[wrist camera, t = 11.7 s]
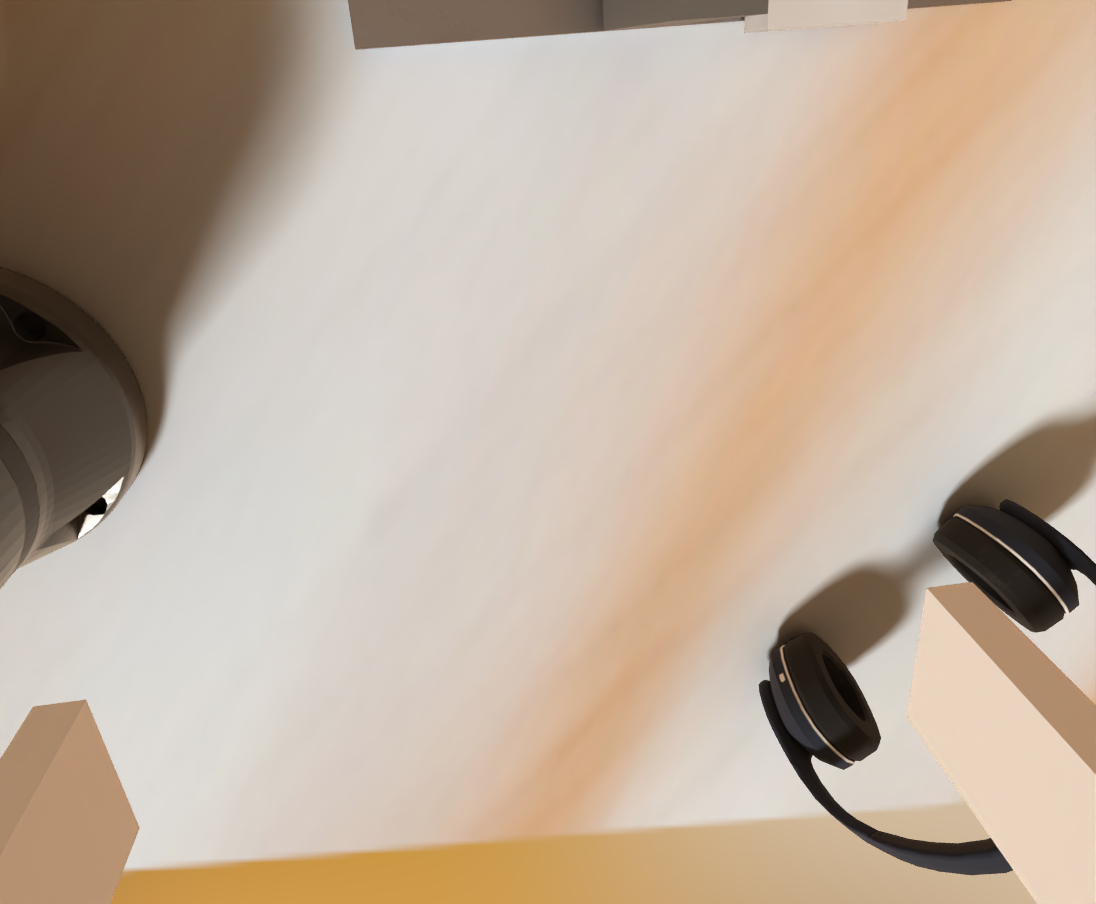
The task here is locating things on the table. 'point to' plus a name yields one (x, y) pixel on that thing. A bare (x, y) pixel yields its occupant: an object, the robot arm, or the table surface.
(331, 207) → the table surface
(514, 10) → the rail
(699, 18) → the striker slider
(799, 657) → the headphones
